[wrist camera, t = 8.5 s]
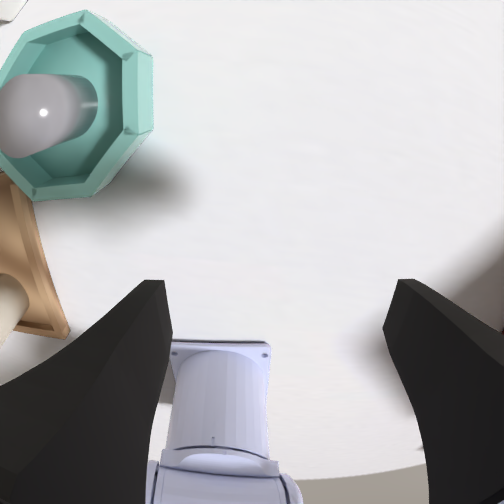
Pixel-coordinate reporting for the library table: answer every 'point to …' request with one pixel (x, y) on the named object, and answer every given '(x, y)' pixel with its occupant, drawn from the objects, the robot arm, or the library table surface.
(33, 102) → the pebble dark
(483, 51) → the library table surface
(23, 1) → the milk carton
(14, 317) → the pebble light
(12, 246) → the tray
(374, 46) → the library table surface
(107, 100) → the dish
